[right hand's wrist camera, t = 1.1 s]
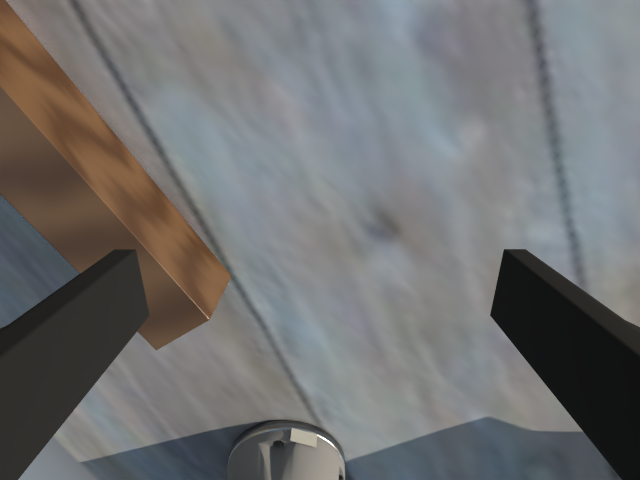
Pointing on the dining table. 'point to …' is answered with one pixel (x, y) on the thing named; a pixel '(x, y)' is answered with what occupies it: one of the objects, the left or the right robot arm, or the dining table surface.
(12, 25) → the post
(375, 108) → the dining table surface
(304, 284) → the dining table surface
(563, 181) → the dining table surface
